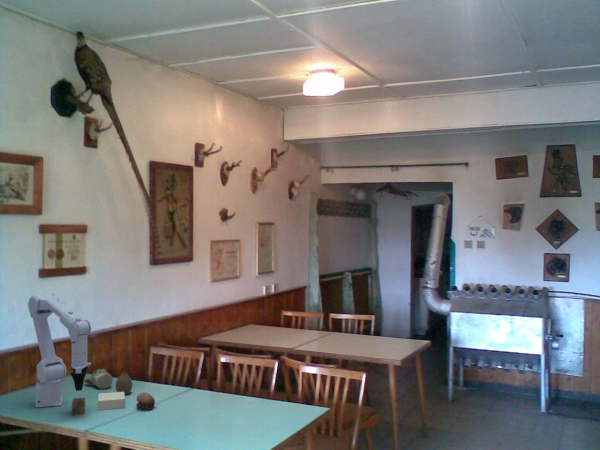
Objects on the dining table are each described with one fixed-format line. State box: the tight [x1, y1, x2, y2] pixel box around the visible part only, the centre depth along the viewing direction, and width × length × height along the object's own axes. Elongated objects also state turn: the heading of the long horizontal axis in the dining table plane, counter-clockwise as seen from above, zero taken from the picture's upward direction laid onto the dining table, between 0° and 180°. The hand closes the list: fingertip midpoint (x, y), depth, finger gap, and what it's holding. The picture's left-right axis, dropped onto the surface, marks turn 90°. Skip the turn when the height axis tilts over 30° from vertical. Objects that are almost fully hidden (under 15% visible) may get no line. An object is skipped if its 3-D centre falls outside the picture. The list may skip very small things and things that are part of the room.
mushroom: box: [135, 392, 155, 410], centre depth 230 cm, size 8×8×6 cm
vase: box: [115, 372, 133, 396], centre depth 249 cm, size 7×7×9 cm
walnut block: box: [71, 397, 86, 416], centre depth 224 cm, size 4×4×5 cm
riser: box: [97, 391, 126, 411], centre depth 233 cm, size 10×10×4 cm
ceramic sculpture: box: [84, 367, 114, 390], centre depth 259 cm, size 11×9×15 cm
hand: (79, 387), depth 224 cm, fingers open, 7 cm apart
